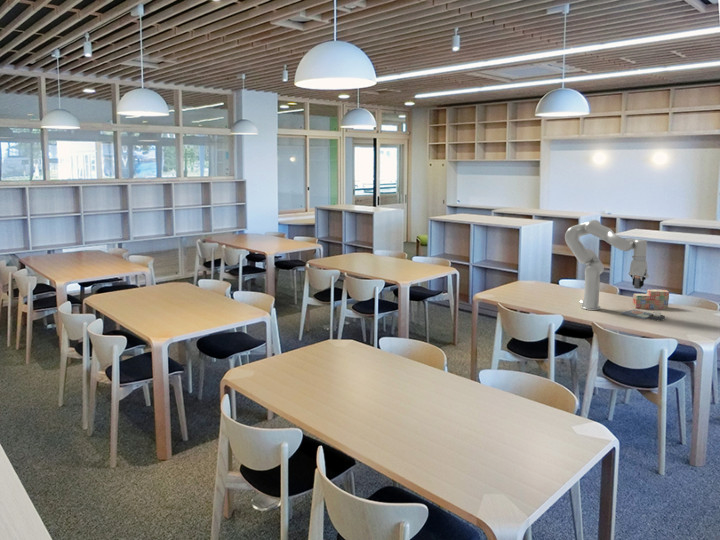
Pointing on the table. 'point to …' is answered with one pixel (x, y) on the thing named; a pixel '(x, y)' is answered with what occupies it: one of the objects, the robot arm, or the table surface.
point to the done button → (657, 314)
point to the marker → (637, 282)
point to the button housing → (656, 317)
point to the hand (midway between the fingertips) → (637, 285)
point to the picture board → (637, 314)
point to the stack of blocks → (651, 299)
